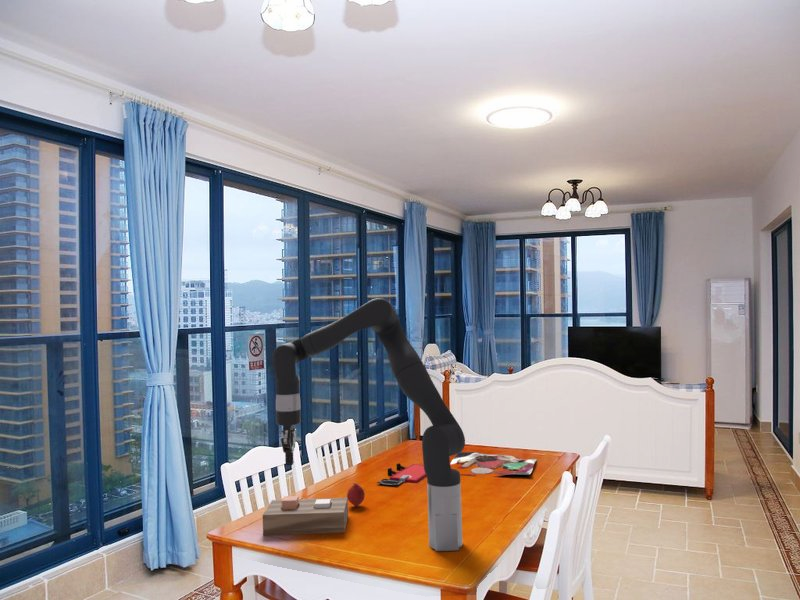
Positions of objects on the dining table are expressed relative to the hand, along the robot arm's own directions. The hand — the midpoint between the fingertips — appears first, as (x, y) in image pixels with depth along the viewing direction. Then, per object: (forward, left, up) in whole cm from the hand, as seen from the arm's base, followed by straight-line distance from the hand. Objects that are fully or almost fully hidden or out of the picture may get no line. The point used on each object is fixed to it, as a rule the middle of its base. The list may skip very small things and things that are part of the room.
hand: (289, 464), depth 188 cm
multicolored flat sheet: (+65, -72, -20) cm, 99 cm away
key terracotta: (0, 0, -14) cm, 14 cm away
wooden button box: (0, -5, -19) cm, 19 cm away
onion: (+17, -19, -19) cm, 32 cm away
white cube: (0, -10, -15) cm, 18 cm away
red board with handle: (+52, -36, -19) cm, 67 cm away
